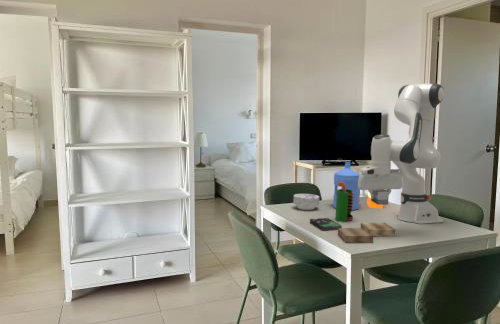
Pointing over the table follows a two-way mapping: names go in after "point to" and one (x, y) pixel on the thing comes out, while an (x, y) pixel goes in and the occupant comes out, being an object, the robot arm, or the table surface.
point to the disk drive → (325, 224)
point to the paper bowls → (306, 201)
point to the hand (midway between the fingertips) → (379, 198)
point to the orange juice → (372, 204)
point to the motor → (344, 204)
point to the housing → (380, 197)
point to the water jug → (348, 184)
